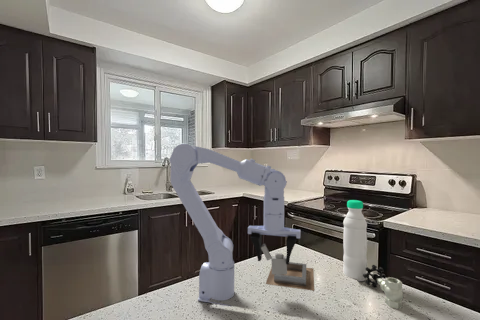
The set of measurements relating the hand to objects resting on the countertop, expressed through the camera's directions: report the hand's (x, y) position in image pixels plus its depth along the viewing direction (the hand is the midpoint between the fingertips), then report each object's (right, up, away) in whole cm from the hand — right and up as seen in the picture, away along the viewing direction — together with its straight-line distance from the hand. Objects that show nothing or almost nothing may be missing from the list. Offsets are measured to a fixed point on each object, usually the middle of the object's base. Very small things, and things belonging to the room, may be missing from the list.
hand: (273, 261), depth 69 cm
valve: (+31, -10, 0) cm, 33 cm away
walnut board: (+7, -10, +10) cm, 16 cm away
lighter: (0, -3, 0) cm, 3 cm away
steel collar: (+7, -9, +10) cm, 15 cm away
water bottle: (+28, -10, +12) cm, 32 cm away
